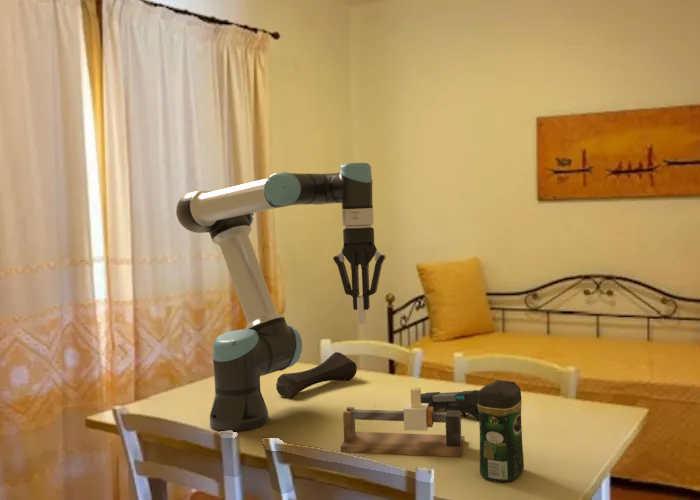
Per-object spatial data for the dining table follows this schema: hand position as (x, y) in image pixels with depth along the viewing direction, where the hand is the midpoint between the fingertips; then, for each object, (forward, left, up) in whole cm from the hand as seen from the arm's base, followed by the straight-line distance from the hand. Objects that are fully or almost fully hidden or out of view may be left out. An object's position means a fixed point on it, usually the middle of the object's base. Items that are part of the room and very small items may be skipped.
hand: (362, 322), depth 166 cm
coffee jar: (+33, -24, -27) cm, 49 cm away
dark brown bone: (-22, +36, -27) cm, 50 cm away
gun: (+19, +14, -27) cm, 36 cm away
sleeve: (+14, -11, -22) cm, 28 cm away
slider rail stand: (+11, -11, -26) cm, 31 cm away
